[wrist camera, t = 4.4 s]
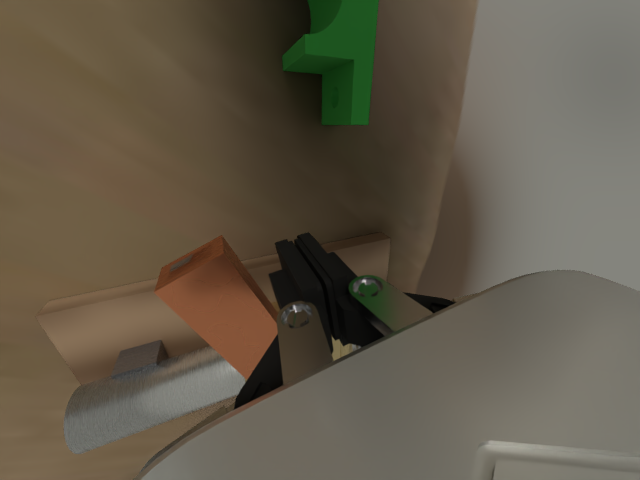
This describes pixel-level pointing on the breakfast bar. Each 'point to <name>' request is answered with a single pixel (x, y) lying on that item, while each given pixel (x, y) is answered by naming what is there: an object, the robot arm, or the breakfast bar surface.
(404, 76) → the breakfast bar surface
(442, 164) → the breakfast bar surface
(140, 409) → the valve and pipe
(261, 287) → the valve stand
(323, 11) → the pipe clamp
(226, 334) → the valve lever
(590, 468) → the robot arm
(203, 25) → the breakfast bar surface
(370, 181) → the breakfast bar surface
